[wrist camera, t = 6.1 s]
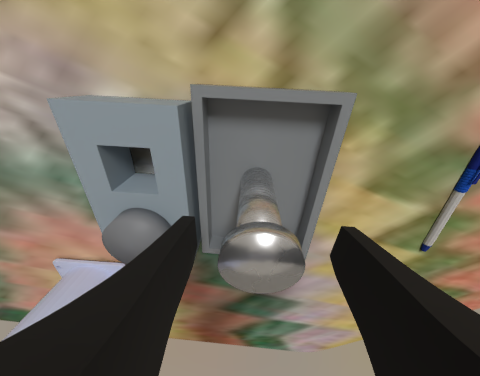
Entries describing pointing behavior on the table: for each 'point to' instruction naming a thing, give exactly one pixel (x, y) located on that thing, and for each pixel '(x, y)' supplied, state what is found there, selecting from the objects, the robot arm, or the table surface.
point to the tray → (265, 152)
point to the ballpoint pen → (454, 199)
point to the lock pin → (260, 241)
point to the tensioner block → (122, 169)
